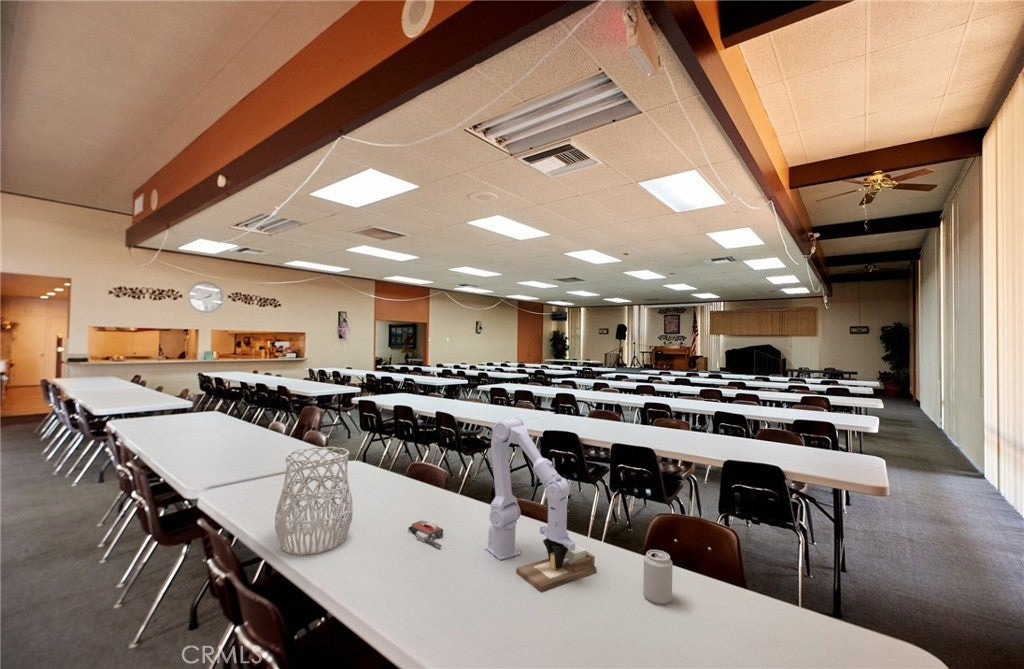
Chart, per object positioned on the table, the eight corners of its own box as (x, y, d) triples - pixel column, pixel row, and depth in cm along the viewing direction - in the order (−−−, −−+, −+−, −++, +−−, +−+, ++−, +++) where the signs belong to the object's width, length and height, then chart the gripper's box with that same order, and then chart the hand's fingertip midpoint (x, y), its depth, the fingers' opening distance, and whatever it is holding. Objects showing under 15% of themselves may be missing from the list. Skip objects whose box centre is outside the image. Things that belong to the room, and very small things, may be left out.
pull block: (546, 563, 133) (546, 550, 134) (573, 555, 140) (573, 542, 140) (558, 572, 128) (558, 558, 129) (586, 563, 135) (586, 550, 135)
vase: (323, 522, 165) (326, 442, 166) (366, 537, 152) (370, 451, 153) (258, 545, 144) (263, 454, 145) (302, 565, 131) (307, 465, 133)
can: (649, 587, 125) (650, 545, 125) (675, 597, 120) (676, 553, 121) (638, 598, 119) (639, 554, 120) (666, 609, 114) (666, 563, 115)
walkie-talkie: (403, 533, 157) (438, 551, 144) (403, 521, 158) (438, 538, 144) (422, 526, 164) (458, 543, 151) (423, 514, 164) (458, 530, 151)
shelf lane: (516, 573, 131) (516, 558, 131) (570, 556, 143) (570, 542, 143) (540, 592, 121) (541, 575, 121) (596, 572, 133) (596, 557, 133)
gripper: (583, 525, 129) (582, 572, 128) (552, 510, 141) (551, 552, 140) (565, 530, 125) (564, 578, 124) (534, 514, 137) (533, 558, 136)
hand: (556, 565), depth 132 cm, fingers closed on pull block, 2 cm apart
